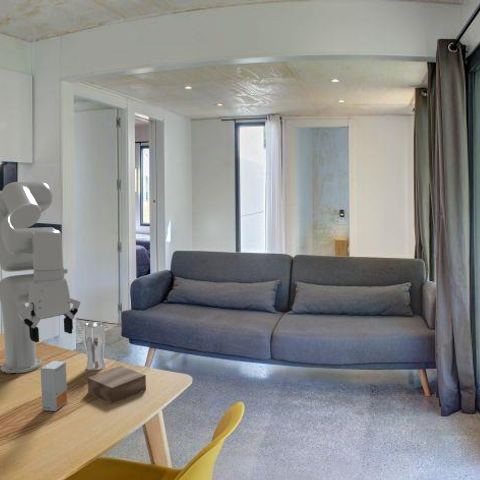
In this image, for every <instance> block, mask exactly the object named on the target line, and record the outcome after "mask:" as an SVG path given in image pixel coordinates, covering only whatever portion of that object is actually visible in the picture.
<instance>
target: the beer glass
mask: <svg viewBox="0 0 480 480" xmlns="http://www.w3.org/2000/svg"><path fill="white" fill-rule="evenodd" d="M83 342H84V348H85V352H86V358H87V359H86V370H88V371H92V372H93V371H101V370H103V369H105V368H106V363H105V359H104V358H105V357H104V353H105V346H106V345H105V344H106V328H105V323H104V322H102V321H92V322H87V323H85V324H84V325H83Z"/></svg>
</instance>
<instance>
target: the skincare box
mask: <svg viewBox="0 0 480 480" xmlns="http://www.w3.org/2000/svg"><path fill="white" fill-rule="evenodd" d="M66 364H67V362H66V361H57V360H52V361H51V362H49V363H47V364H45V365H44V366H43V367H41V368H40V381H41V383H40V384H41V405H42V406H41V409H42V410H43V411H48V412H49V411H51V412H56V411H58V410H59V409H60V408H62V407H63V406H64V405H65V404H67V403H68V387H67V385H68V384H67V382H68V381H67V365H66Z"/></svg>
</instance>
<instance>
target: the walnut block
mask: <svg viewBox="0 0 480 480" xmlns="http://www.w3.org/2000/svg"><path fill="white" fill-rule="evenodd" d="M146 377H147V375H146V374H144V373H141V372H138V371H136V370H133V369H130V368H127V367H124V366H122V365H120V366H116V367H114V368H111V369H108V370H105V371H102V372H100V373H97V374H94V375H91V376H88V377H87V392H88V394H90V395H92V396H94V397H96V398H99V399H101V400H103V401H106V402H107V403H110V404H112V405H113V404H116V403H117V402H118V403H119V402H121V401H123V400H126V399H127V398H130V397H133V396H135V395H138V394H140V393H142V392H145V391H147V380H146ZM144 390H145V391H144ZM141 391H142V392H141ZM139 392H140V393H139ZM137 393H138V394H137ZM132 395H133V396H132Z"/></svg>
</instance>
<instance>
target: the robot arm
mask: <svg viewBox="0 0 480 480" xmlns="http://www.w3.org/2000/svg"><path fill="white" fill-rule="evenodd" d="M52 202H53V193H52V189H51V188H50V186H49V185H48V184H47V183H46V182H43V181H14V182H10V183H8V184H6V185H5V186H4V187H3V189H2V190H0V268H1V269H2V270H3V272H8V273H13V272H14V273H15V272H24V271H25V272H26V271H33V273H25V274H16V275H15V274H14V275H10V276H7V277H3V278H2V279H0V307H1V313H2V324H3V339H4V340H3V342H4V358H5V360H4V361H5V362H4V363H3V364H1V366H0V371H1V372H2V373H4V372H5V374H10V373H16V374H23V373H28V372H32V371H35V370H37V369H39V367H41V365H42V360H41V359H39V358H37V347H36V343H39V342H40V333H39V331H40V330H39V327H37V326H38V324H39V323H40V322H41V320H46V319H51V318H55V317H59V316H64V318H63V330H64V331H63V332H64V333H66V334H69V335H70V334H73V329H74V324H73V320H74V319H75V315H76V314H77V313H78V312H79V311H78V310H79V308H80V305H81V301H79V300H76V299H74V298H71V296H70V290H69V285H68V282H67V279H66V278H65V274H68V269H67V268H64V256H63V255H64V254H63V238H62V237H63V236H62V233H61V231H60V230H58V229H55V228H54V227H51V226H49V227H48V226H47V227H32V226H34V225H36V224H37V222H39V220H40V219H41V216H42V213H44V212H45V211H46V210H48V209H49V208H50V207H51V205H52ZM27 303H28V305H27V306H26V304H27ZM71 305H72V307H71Z"/></svg>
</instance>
